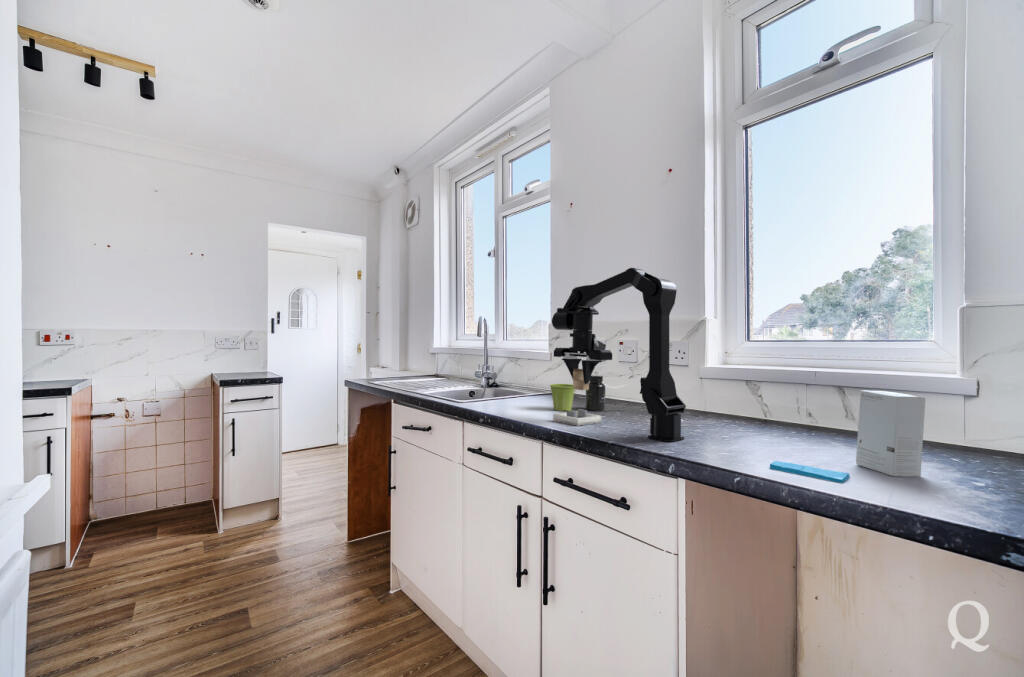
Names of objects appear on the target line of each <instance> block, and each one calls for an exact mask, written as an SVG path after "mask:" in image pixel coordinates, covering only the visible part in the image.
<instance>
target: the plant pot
mask: <svg viewBox="0 0 1024 677" xmlns="http://www.w3.org/2000/svg"><path fill="white" fill-rule="evenodd" d="M549 387H550V391H551V395H552V403H553V410H555V411H557V412H558V411H559V412H563V411H566V412H567V411H572V409H573V402H574V396H575V395H574V394H575V392H576V389H573V384H569V383H553V384H549Z"/></svg>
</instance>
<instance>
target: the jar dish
mask: <svg viewBox="0 0 1024 677" xmlns="http://www.w3.org/2000/svg"><path fill="white" fill-rule="evenodd" d="M552 421H553V422H556V421H557V423H560V422H562V423H561V424H565V423H567V424H566V425H570V424H571V425H570V426H575V425H576V426H575V427H581V426H580V425H582V426H587V425H586V424H589V425H594V424H593V423H595V424H600V423H599V422H601V423H602V415H597V414H592V413H588V410H586V409H579V408H578V409H577V410H576V411H575V410H571V411H566V412H560V413H553V415H552Z"/></svg>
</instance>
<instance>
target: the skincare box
mask: <svg viewBox="0 0 1024 677" xmlns="http://www.w3.org/2000/svg"><path fill="white" fill-rule="evenodd" d="M925 408H926V397H923V396H920V395H912V394H907V393H901V392H895V391H885V390H865V389H864V390H863V389H861V390H860V395H859V408H858V409H859V411H858V424H857V425H858V426H857V440H856V442H857V443H856V455H855V464H856V465H857V466H860V467H863V468H866V469H869V470H873V471H877V472H880V473H883V474H884V475H888V476H891V477H913V478H914V477H921V476H922V473H921V472H922V459H923V458H922V457H923V443H924V428H925V427H924V423H925V413H926V412H925V410H926V409H925Z"/></svg>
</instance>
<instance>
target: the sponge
mask: <svg viewBox="0 0 1024 677" xmlns="http://www.w3.org/2000/svg"><path fill="white" fill-rule="evenodd" d="M769 469H770V470H774V471H779V472H784V473H789V474H795V475H800V476H806V477H810V478H815V479H819V480H824V481H825V480H826V481H829V482H833V483H840V484H843V483H846V481H847V480H849V479H850V474H849V473H848V472H844V471H835V470H831V469H824V468H819V467H815V466H809V465H804V464H803V465H802V464H797V463H793V462H785V461H784V462H783V461H779V460H774V461H773V462H771V463H770V464H769Z"/></svg>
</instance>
